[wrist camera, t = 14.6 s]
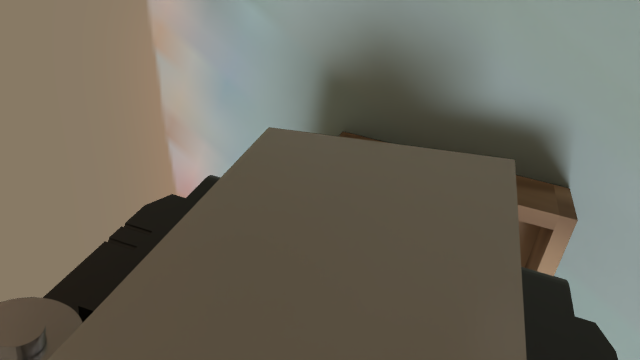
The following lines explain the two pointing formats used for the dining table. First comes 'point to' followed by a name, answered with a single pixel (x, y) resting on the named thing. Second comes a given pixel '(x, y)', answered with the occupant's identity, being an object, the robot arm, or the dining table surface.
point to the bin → (538, 220)
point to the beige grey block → (328, 262)
